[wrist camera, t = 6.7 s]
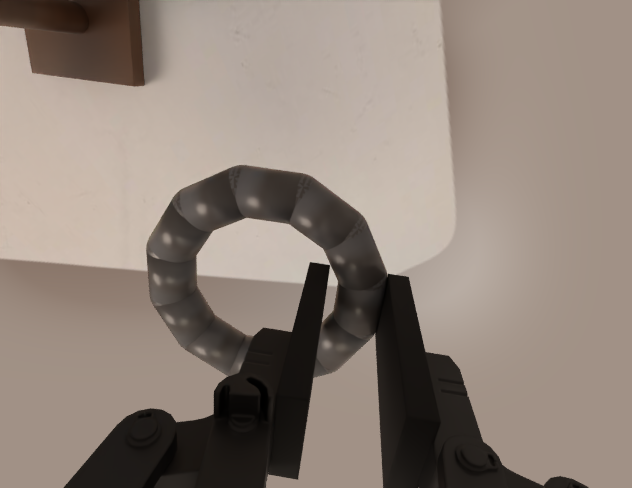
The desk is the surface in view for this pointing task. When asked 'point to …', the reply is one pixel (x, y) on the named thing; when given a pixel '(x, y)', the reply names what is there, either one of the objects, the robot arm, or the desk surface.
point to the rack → (80, 38)
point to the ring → (271, 205)
